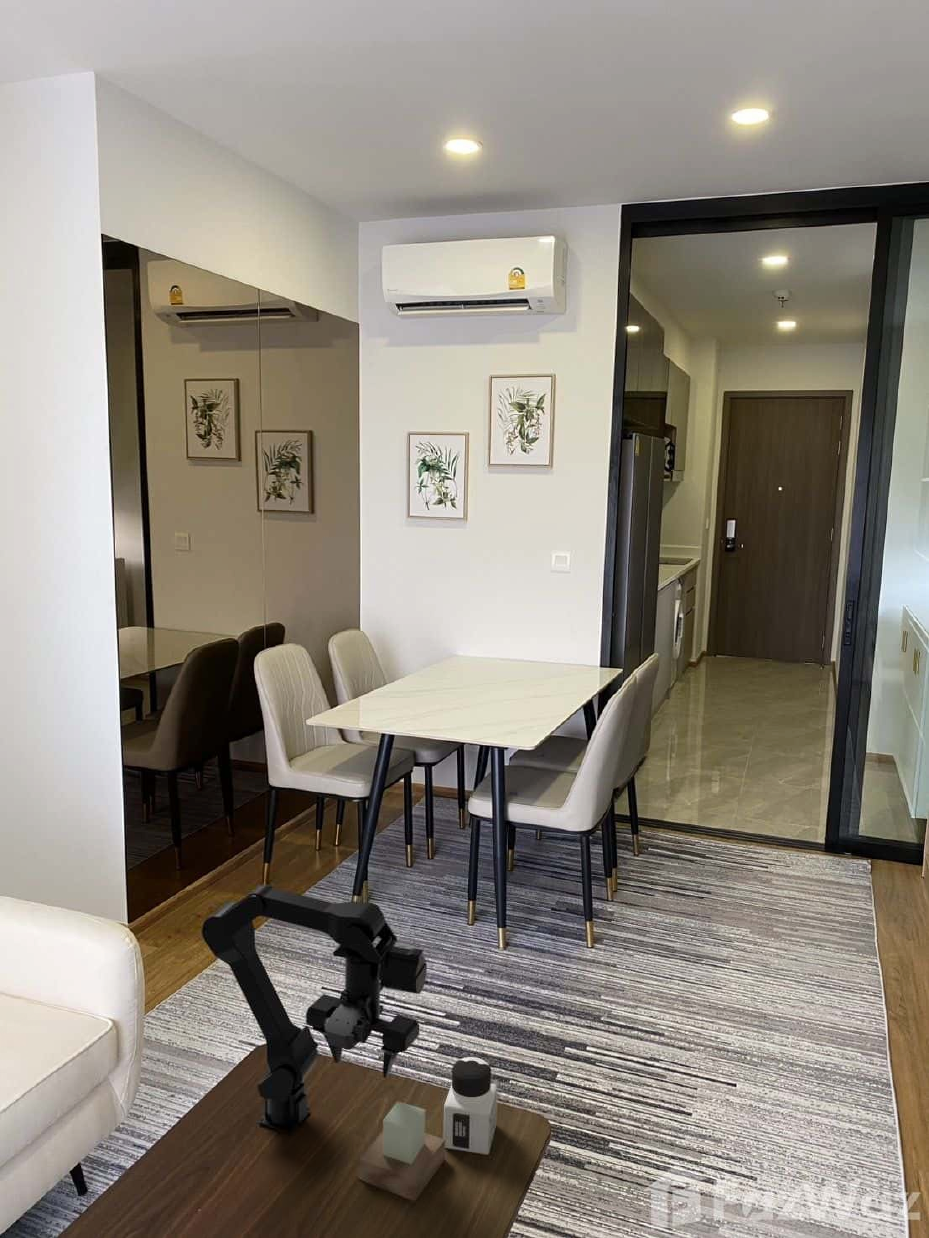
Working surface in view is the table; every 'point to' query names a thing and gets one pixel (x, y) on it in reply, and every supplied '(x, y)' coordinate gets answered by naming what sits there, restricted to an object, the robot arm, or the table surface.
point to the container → (470, 1107)
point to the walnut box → (402, 1167)
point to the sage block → (404, 1132)
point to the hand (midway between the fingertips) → (361, 1069)
